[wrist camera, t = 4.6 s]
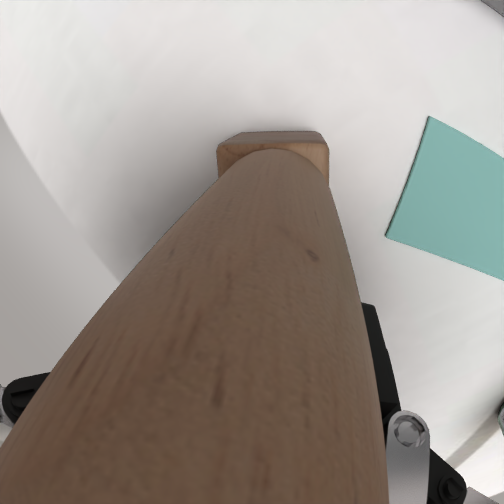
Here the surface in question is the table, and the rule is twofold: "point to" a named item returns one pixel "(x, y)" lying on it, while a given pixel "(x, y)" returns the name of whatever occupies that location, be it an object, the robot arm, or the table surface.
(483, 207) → the pad
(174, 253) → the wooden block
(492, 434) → the table surface
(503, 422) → the coffee jar
